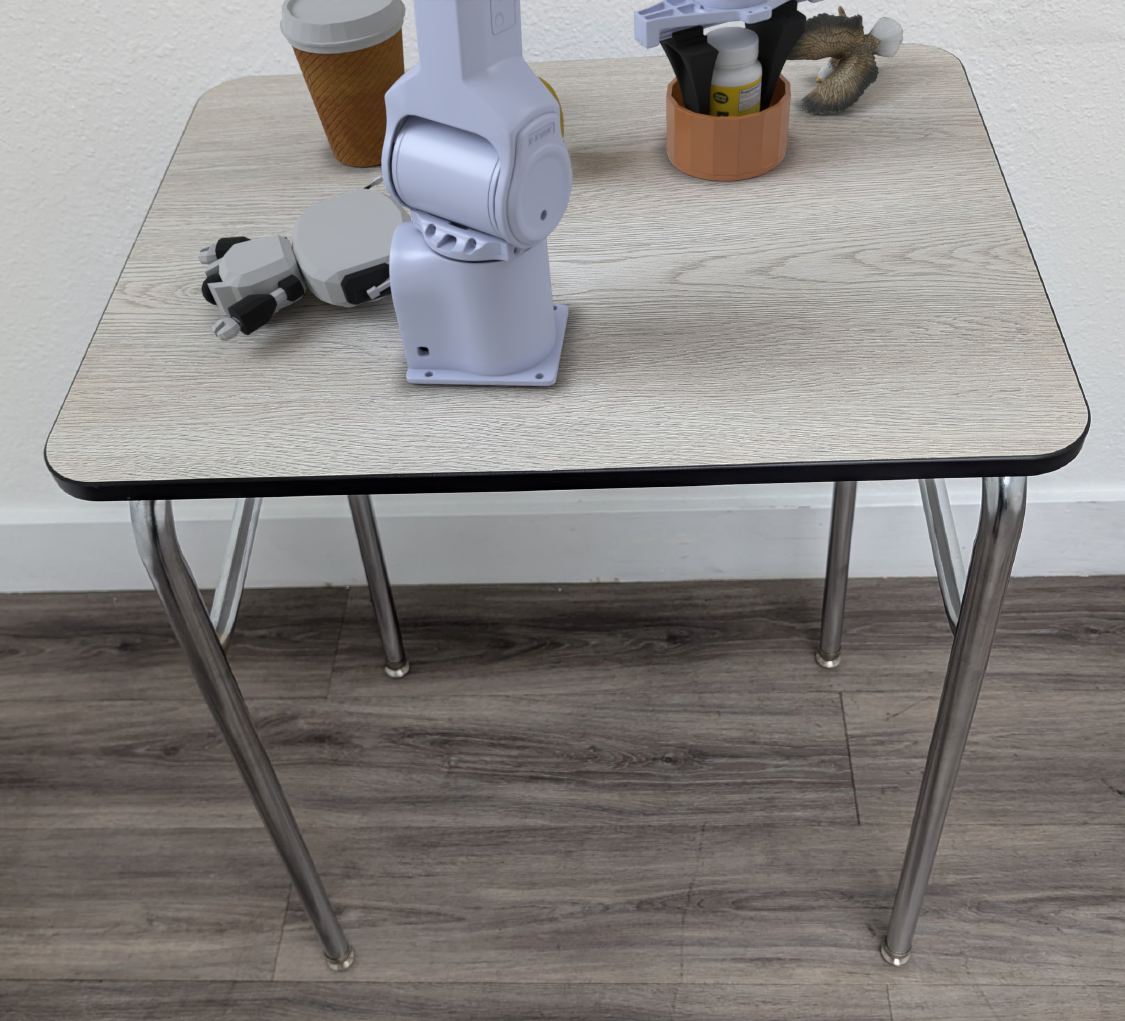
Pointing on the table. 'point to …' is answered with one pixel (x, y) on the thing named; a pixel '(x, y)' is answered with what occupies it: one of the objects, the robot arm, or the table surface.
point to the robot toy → (305, 261)
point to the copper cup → (727, 138)
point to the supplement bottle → (735, 72)
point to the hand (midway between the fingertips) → (727, 115)
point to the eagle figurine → (844, 57)
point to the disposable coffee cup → (348, 68)
